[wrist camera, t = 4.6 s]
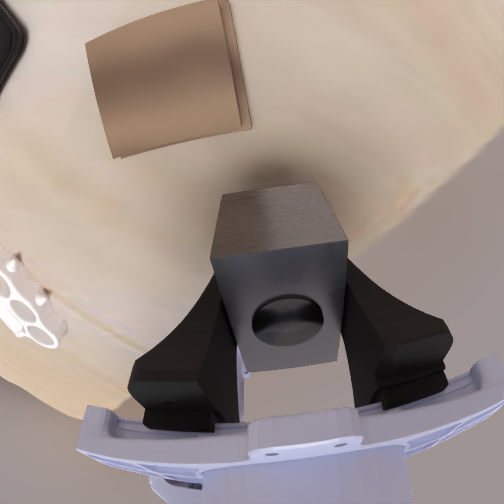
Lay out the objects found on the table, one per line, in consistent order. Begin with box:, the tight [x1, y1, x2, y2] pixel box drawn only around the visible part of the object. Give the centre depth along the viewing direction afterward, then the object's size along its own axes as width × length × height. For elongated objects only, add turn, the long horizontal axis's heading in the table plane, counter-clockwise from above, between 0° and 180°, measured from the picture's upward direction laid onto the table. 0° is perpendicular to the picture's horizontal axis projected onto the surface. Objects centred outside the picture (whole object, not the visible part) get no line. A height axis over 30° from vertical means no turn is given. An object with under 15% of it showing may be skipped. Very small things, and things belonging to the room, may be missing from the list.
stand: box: [85, 0, 252, 159], centre depth 14 cm, size 9×9×3 cm
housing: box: [210, 182, 348, 372], centre depth 13 cm, size 4×7×5 cm, turn 9°
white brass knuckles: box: [0, 244, 67, 348], centre depth 25 cm, size 3×18×15 cm
